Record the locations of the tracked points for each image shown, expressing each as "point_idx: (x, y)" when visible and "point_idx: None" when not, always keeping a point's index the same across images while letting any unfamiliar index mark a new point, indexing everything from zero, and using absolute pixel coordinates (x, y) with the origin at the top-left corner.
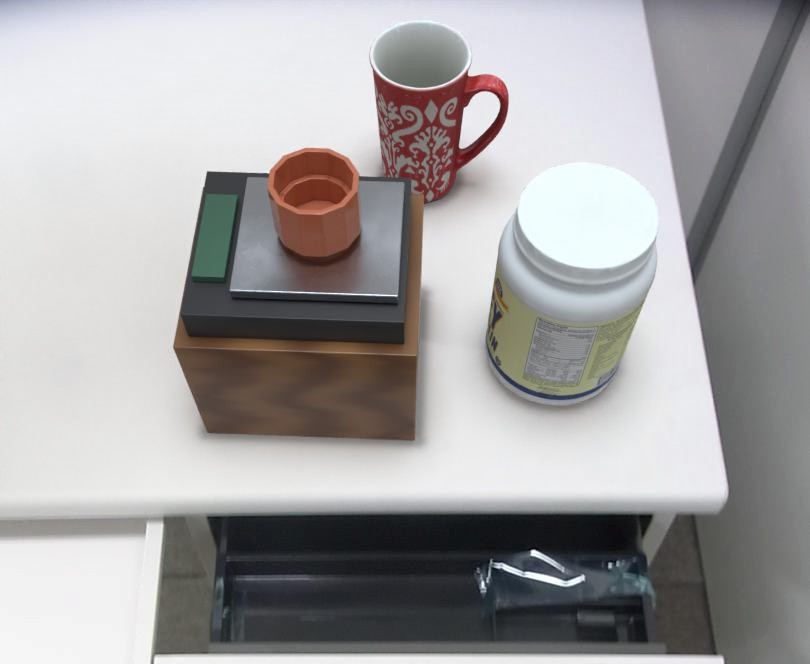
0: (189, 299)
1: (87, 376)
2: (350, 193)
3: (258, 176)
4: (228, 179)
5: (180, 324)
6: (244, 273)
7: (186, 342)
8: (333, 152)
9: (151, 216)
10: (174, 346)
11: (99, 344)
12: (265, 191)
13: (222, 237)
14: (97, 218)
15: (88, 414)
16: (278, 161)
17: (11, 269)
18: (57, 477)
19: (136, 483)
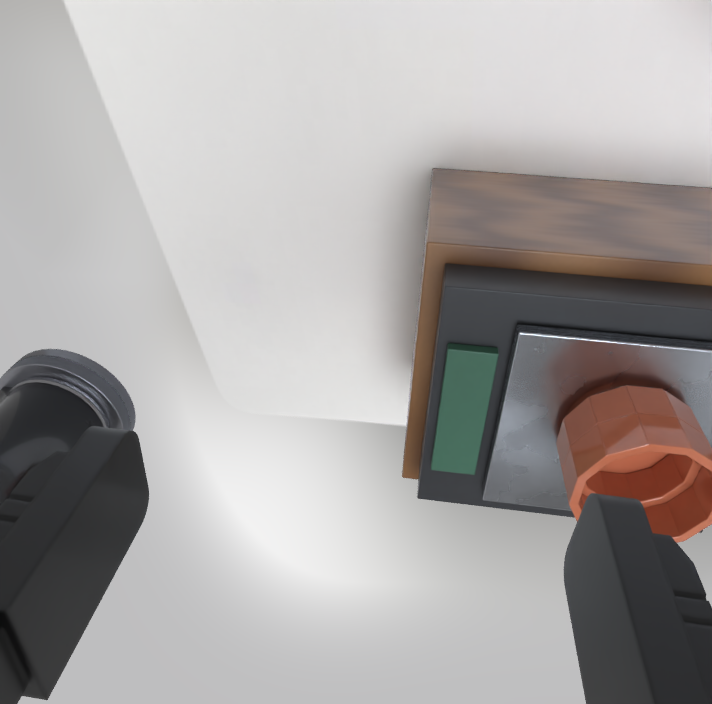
0: (428, 483)
1: (267, 295)
2: (702, 526)
3: (534, 301)
4: (482, 306)
5: (408, 454)
6: (503, 482)
7: (417, 475)
8: (698, 457)
9: (294, 9)
10: (404, 477)
11: (270, 253)
12: (547, 363)
13: (473, 422)
14: (207, 14)
15: (280, 339)
16: (595, 466)
17: (117, 125)
18: (267, 400)
19: (344, 411)
